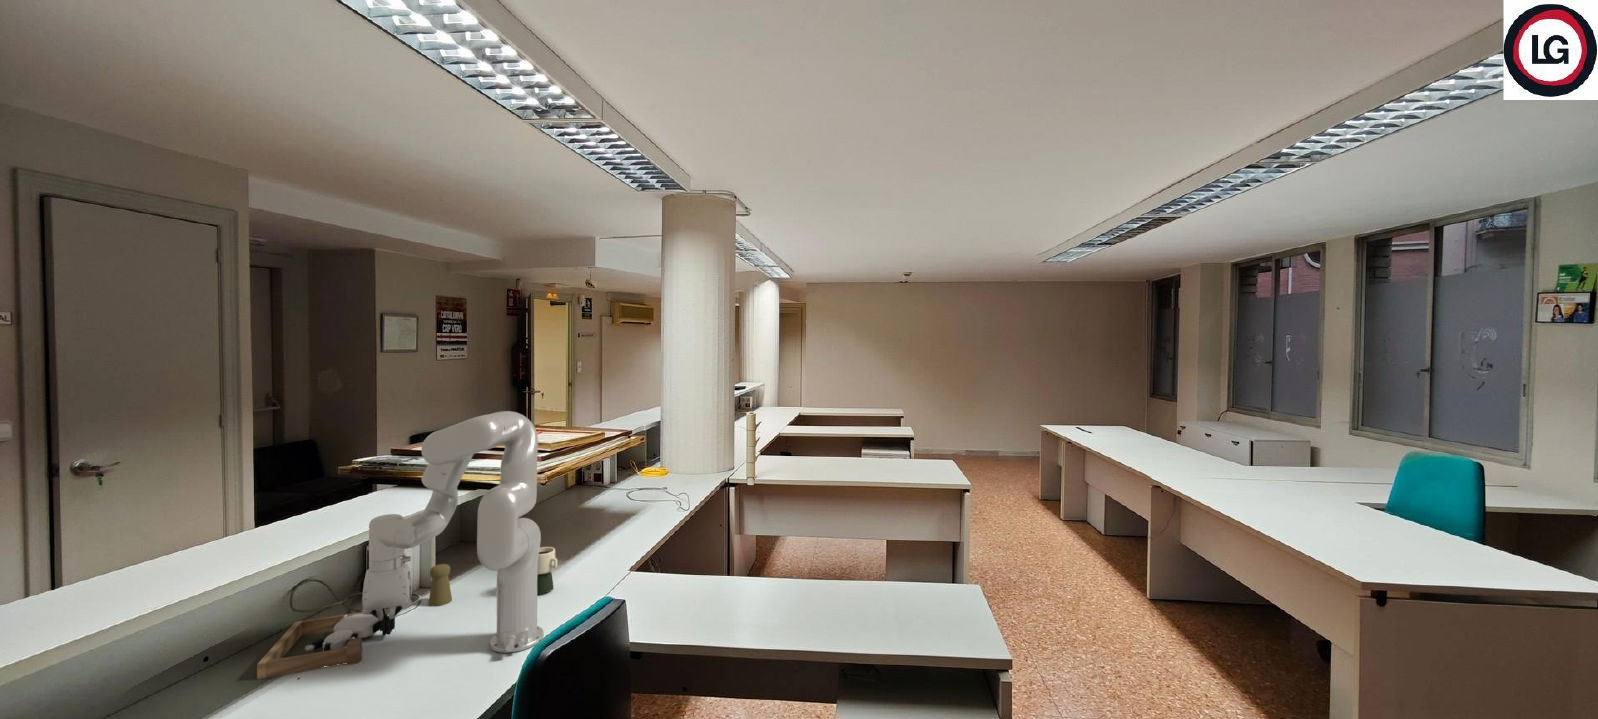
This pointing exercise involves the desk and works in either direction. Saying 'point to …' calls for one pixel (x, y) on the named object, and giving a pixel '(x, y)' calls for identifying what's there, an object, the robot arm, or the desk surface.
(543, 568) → the character mug
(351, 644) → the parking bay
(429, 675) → the desk surface
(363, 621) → the robot toy
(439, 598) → the cork
